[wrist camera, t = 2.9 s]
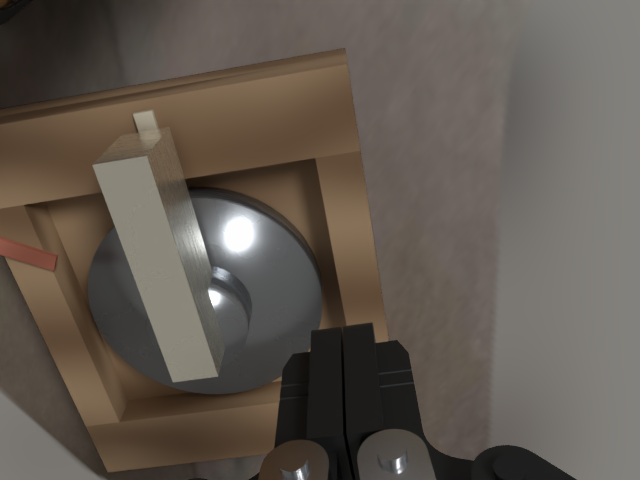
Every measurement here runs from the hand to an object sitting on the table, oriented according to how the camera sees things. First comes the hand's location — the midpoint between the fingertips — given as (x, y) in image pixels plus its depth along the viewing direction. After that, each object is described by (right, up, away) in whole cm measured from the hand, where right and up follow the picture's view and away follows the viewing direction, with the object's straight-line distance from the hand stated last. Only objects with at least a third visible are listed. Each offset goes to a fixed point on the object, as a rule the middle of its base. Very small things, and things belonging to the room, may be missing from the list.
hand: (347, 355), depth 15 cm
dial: (-6, +2, +11) cm, 13 cm away
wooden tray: (-6, +1, +14) cm, 15 cm away
